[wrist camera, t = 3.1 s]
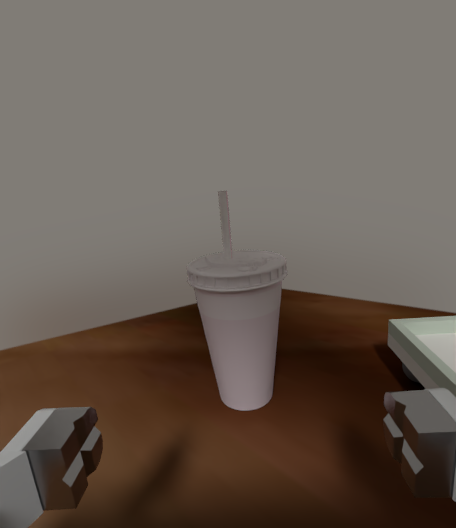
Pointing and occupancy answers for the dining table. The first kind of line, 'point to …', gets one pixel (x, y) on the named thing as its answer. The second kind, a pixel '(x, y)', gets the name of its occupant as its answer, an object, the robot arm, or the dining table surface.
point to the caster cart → (426, 350)
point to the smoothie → (240, 316)
